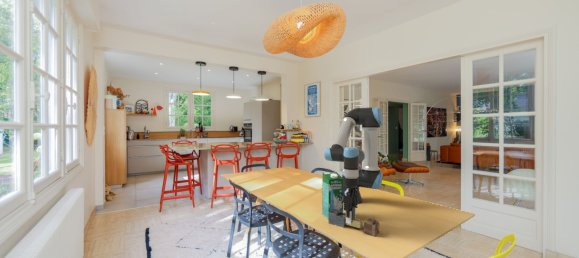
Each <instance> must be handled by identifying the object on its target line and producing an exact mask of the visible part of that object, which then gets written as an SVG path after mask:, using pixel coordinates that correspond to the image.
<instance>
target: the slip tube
mask: <svg viewBox="0 0 579 258" xmlns="http://www.w3.org/2000/svg"><path fill="white" fill-rule="evenodd" d="M351 211H352V216H351V224H348V223H346V216H345V215H341V214H338V215H339V216H343V217H345V224H346V225H347V226H350V227H354V228H358V229H361V228H363V227H364V221H363V219H361V218H357V217H356V218H355V206H351Z"/></svg>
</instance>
